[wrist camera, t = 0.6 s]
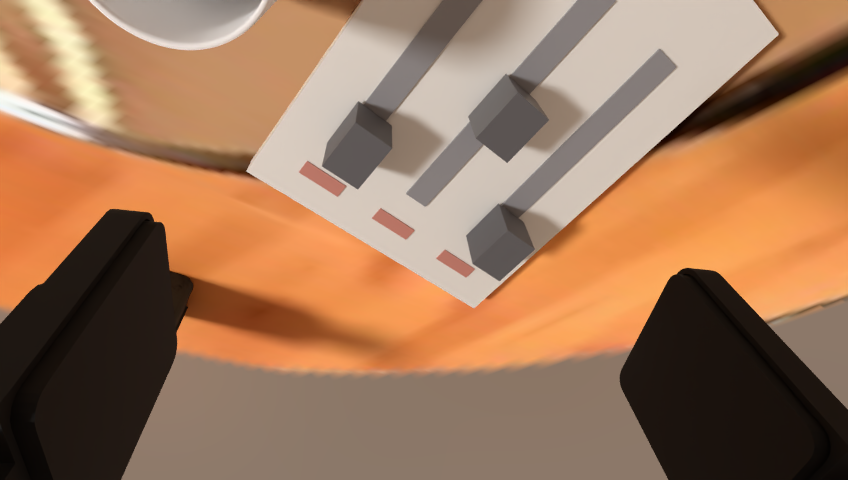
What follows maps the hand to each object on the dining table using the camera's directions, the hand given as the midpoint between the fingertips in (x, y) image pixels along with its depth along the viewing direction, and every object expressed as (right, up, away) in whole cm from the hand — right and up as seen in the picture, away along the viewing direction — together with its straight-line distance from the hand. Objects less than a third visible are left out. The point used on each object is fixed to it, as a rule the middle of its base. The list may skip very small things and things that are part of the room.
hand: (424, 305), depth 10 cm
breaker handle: (+6, +11, +28) cm, 31 cm away
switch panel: (+6, +12, +30) cm, 33 cm away
